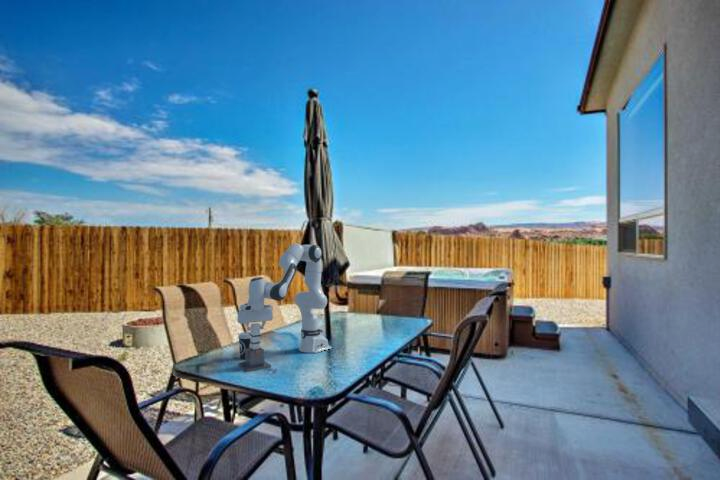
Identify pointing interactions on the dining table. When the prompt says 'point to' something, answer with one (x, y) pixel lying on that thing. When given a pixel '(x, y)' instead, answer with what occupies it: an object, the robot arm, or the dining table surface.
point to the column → (255, 337)
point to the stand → (254, 360)
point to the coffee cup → (244, 343)
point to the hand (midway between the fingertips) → (255, 329)
